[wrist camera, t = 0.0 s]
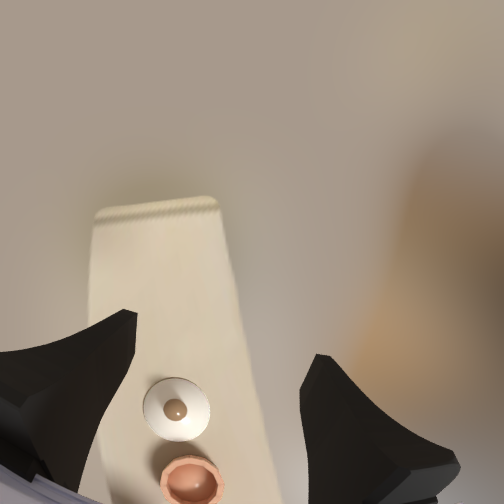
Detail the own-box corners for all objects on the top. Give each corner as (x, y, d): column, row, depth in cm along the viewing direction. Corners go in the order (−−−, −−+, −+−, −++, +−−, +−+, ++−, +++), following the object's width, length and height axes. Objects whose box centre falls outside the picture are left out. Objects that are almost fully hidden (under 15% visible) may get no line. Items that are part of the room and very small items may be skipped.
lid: (203, 447, 36) (204, 451, 32) (138, 431, 35) (132, 432, 32) (215, 387, 40) (217, 384, 37) (152, 371, 40) (148, 367, 36)
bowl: (216, 510, 31) (218, 516, 28) (158, 498, 30) (156, 503, 28) (226, 461, 35) (228, 465, 32) (168, 449, 34) (166, 452, 32)
